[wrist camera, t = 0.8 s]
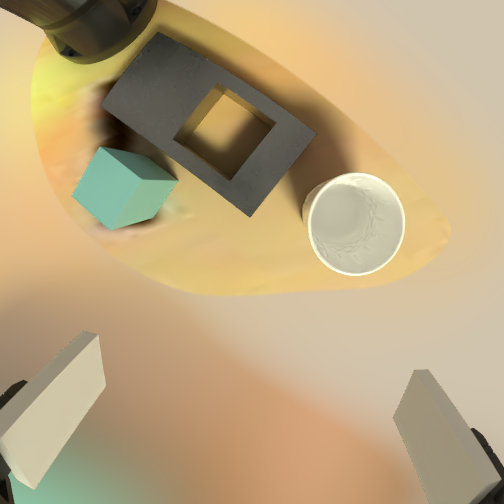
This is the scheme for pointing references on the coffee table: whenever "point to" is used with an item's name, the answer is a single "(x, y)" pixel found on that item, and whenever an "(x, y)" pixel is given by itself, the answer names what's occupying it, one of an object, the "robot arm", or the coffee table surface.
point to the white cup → (354, 223)
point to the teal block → (123, 187)
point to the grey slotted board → (195, 109)
